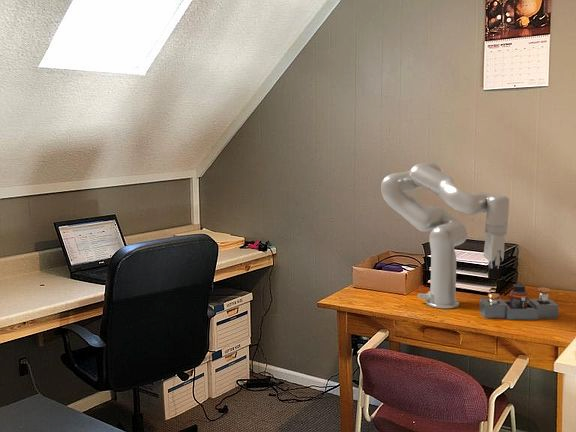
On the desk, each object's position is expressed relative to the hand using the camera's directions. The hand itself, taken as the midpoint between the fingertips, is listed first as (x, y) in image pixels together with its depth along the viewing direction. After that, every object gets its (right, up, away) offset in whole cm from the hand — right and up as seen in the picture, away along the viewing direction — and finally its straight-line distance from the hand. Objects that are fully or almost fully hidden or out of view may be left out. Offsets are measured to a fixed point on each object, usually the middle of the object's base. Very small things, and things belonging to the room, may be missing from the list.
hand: (492, 278), depth 227 cm
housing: (+10, -14, +1) cm, 17 cm away
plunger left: (+1, -12, +1) cm, 12 cm away
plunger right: (+18, -10, 0) cm, 21 cm away
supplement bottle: (+10, -14, +1) cm, 17 cm away
